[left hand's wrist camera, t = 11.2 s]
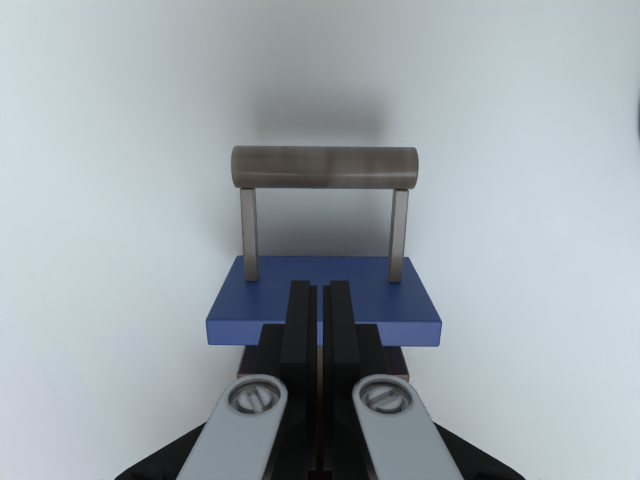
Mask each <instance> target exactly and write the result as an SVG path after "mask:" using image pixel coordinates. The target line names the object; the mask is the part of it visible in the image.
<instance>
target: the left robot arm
mask: <svg viewBox="0 0 640 480" xmlns="http://www.w3.org/2000/svg"><path fill="white" fill-rule="evenodd" d="M316 453H317V285H310V280H292V281H291V287H290V294H289V301H288V307H287V314H286V321H285V324H263V326H262V330H261V334H260V338H259V342H258V347H257V351H256V355H255V359H254V363H253V368H252V372H251V375H248V376H244V377H241V378H239V379H237V380H235V381H233V382H232V383H231V384H229V385H228V386H227V387H226V389H225V390H224V391H223V393H222V395H221V397H220V398H219V400H218V402H217V404H216V406H215V408H214V410H213V411H212V413H211V415H210V417H209V419H208V421H207V422H205V423H204V424H202V425H200V426H199V427H197V428H195V429H193V430H192V431H190V432H188V433H187V434H185V435H183V436H182V437H180V438H178V439H177V440H175V441H173V442H172V443H170V444H168V445H167V446H165V447H163V448H162V449H160V450H158V451H157V452H155V453H153V454H152V455H150V456H148V457H147V458H145V459H143V460H141V461H140V462H138V463H136V464H135V465H133V466H131V467H130V468H128V469H127V470H125V471H124V472H123V473H121V474H120V475H119V476H117V477H116V478H115V479H114V480H307V473H308V471H316ZM323 453H324V471H332V473H333V480H526V479H525V478H524V477H523V476H521V475H520V474H519V473H517V472H516V471H515V470H513V469H512V468H510V467H509V466H507V465H505V464H504V463H502V462H500V461H499V460H497V459H495V458H493V457H492V456H490V455H488V454H487V453H485V452H483V451H482V450H480V449H478V448H477V447H475V446H473V445H472V444H470V443H468V442H467V441H465V440H463V439H462V438H460V437H458V436H457V435H455V434H453V433H452V432H450V431H448V430H447V429H445V428H443V427H441V426H440V425H438V424H436V423H435V422H433V421H432V419H431V417H430V415H429V413H428V411H427V410H426V408H425V406H424V404H423V402H422V400H421V398H420V397H419V395H418V393H417V391H416V390H415V389H414V387H413V386H412V385H411V384H409V383H408V382H407V381H405V380H403V379H401V378H399V377H396V376H392V375H389V372H388V368H387V363H386V359H385V355H384V351H383V347H382V342H381V338H380V334H379V330H378V326H377V324H355V321H354V314H353V307H352V301H351V294H350V287H349V281H348V280H330V285H323Z"/></svg>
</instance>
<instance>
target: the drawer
mask: <svg viewBox="0 0 640 480" xmlns="http://www.w3.org/2000/svg"><path fill="white" fill-rule="evenodd" d="M418 168H419V162H418V153H417V150H416V148H414V147H322V146H235V147H234V148H233V151H232V157H231V173H232V180H233V183H234V186H235V187H236V188H241V189H240V200H241V218H242V235H243V252H244V256H237V257H236V259H235V261H234V263H233V265H232V267H231V269H230V271H229V273H228V275H227V277H226V279H225V281H224V284H223V286H222V288H221V290H220V292H219V294H218V296H217V298H216V300H215V302H214V304H213V306H212V308H211V310H210V312H209V314H208V316H207V318H206V330H207V340H208V344H209V345H245V348H244V351H243V355H242V358H241V362H240V365H239V368H238V372H237V379H239V378H241V377H244V376H248V375H251V372H252V368H253V363H254V359H255V355H256V351H257V347H258V342H259V338H260V334H261V330H262V326H263V324H285V321H286V314H287V307H288V301H289V294H290V287H291V281H292V280H310V285H317V453H316V471H308V473H307V480H333V473H332V471H324V453H323V285H330V280H348V281H349V287H350V294H351V301H352V307H353V314H354V321H355V324H377V326H378V330H379V334H380V338H381V342H382V347H383V351H384V355H385V359H386V363H387V368H388V372H389V375H392V376H396V377H399V378H401V379H403V380H405V381H407V382H408V383H409V372H408V369H407V366H406V362H405V359H404V356H403V353H402V349H401V346H431V347H437V346H439V343H440V335H441V327H442V321H441V319H440V317H439V315H438V313H437V311H436V309H435V307H434V305H433V303H432V301H431V299H430V297H429V295H428V294H427V292H426V290H425V288H424V286H423V284H422V282H421V280H420V278H419V276H418V274H417V272H416V270H415V268H414V266H413V264H412V263H411V261H410V259H409V257H404V244H405V232H406V220H407V208H408V195H409V191H408V189H413V188H414V187H415V185H416V182H417V178H418ZM255 188H313V189H393V200H392V215H391V229H390V244H389V257H329V256H258V235H257V213H256V190H255Z"/></svg>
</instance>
